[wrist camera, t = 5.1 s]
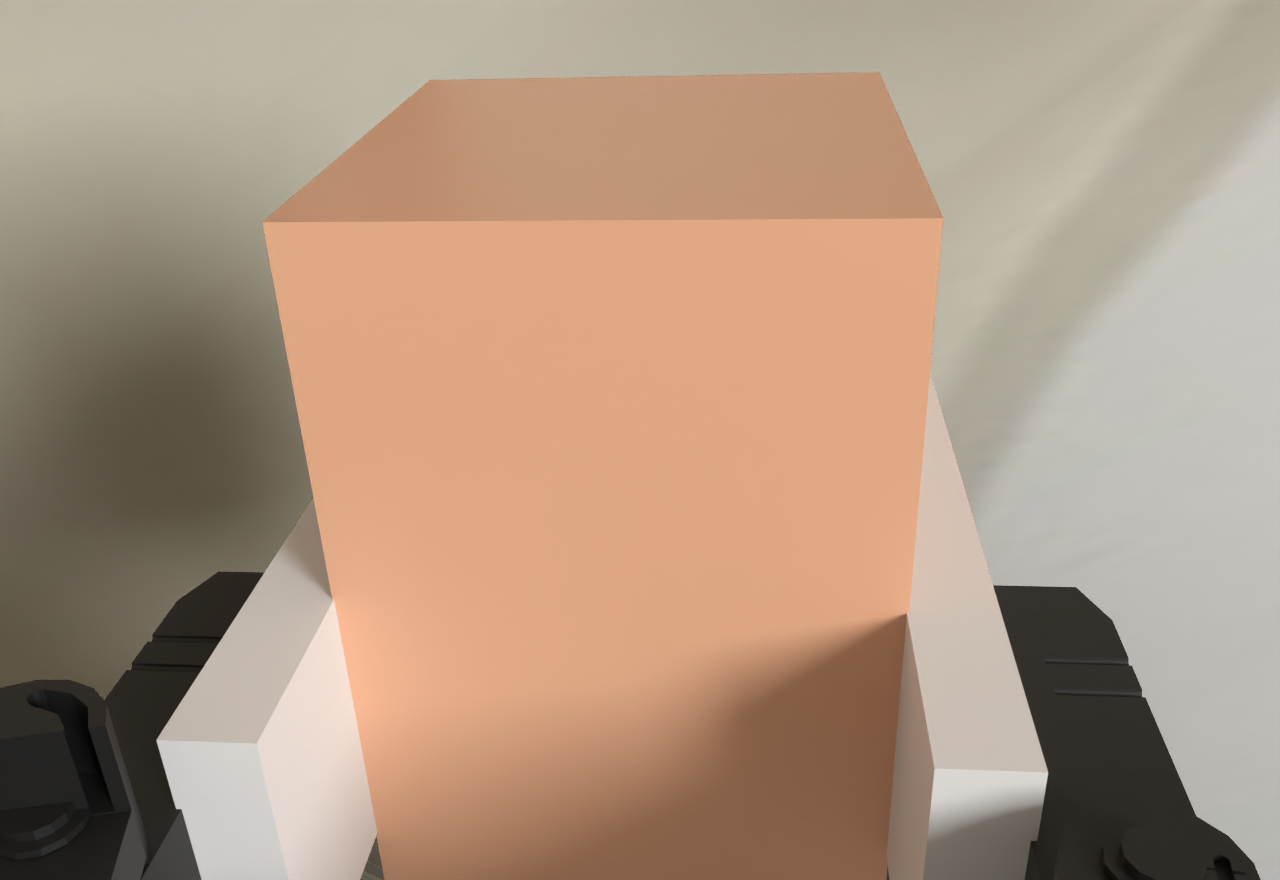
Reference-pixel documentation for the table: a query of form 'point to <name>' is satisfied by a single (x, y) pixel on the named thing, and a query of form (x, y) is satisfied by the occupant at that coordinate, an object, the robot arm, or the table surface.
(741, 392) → the block
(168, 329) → the table surface
